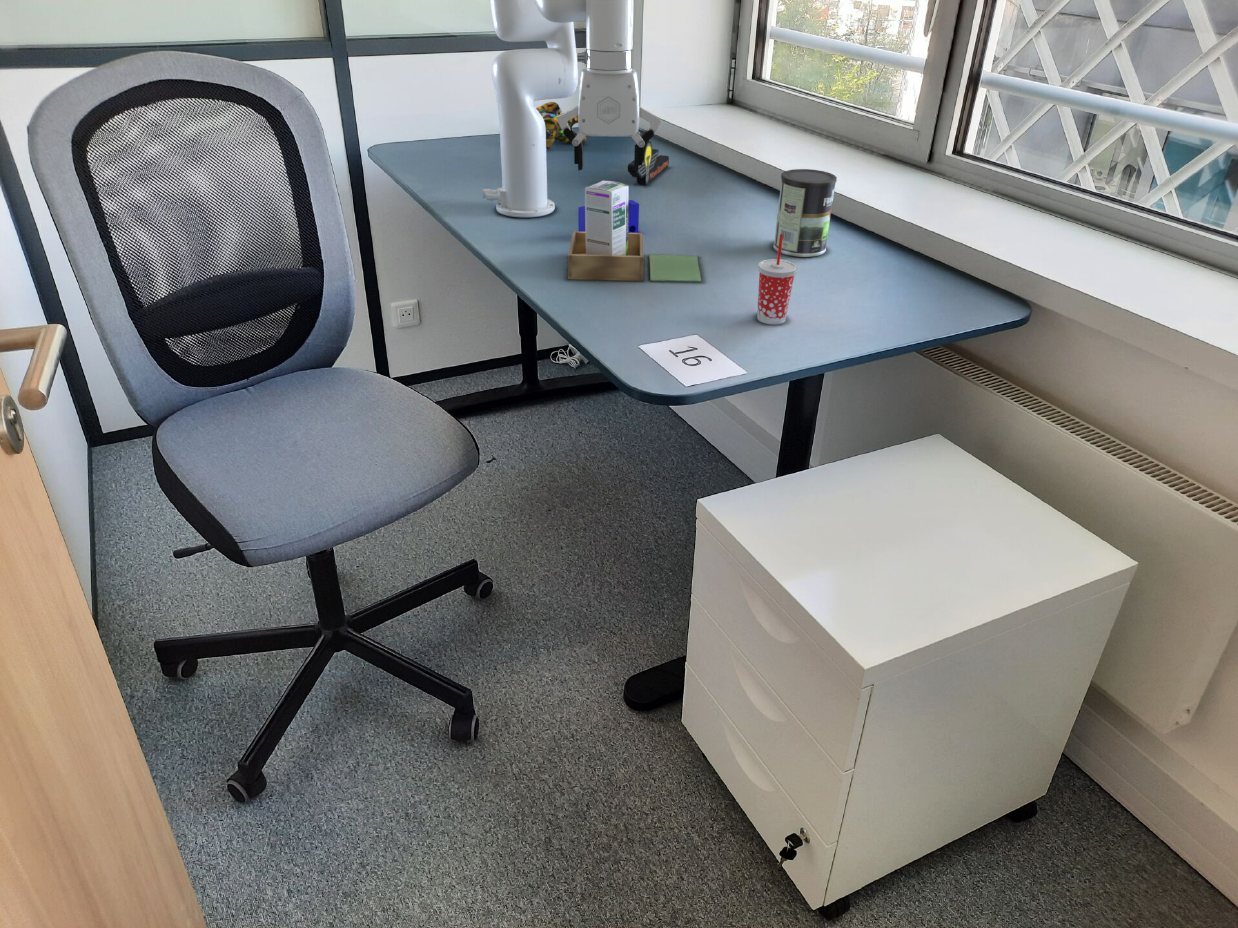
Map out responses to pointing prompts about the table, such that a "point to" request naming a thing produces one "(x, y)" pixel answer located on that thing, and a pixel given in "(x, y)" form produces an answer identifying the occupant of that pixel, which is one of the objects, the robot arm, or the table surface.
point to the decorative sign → (649, 165)
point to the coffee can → (804, 212)
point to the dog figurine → (555, 124)
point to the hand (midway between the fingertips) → (608, 169)
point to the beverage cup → (775, 288)
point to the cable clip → (632, 217)
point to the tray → (605, 261)
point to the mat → (674, 268)
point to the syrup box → (606, 218)
